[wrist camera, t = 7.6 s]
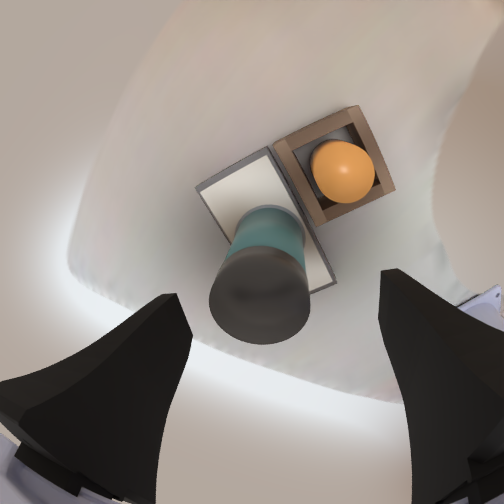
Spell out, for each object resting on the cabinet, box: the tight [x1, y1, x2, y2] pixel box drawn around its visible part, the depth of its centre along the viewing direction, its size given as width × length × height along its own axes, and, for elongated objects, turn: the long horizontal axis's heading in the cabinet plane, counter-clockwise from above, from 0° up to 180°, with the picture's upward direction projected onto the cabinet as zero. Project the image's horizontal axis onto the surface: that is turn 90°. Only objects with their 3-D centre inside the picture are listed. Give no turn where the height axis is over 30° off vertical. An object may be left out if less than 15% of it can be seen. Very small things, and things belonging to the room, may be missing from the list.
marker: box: [209, 208, 310, 345], centre depth 14 cm, size 4×4×7 cm
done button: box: [310, 139, 375, 203], centre depth 13 cm, size 3×3×3 cm
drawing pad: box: [195, 146, 337, 295], centre depth 18 cm, size 10×5×1 cm, turn 30°
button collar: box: [273, 105, 396, 227], centre depth 15 cm, size 5×5×2 cm
